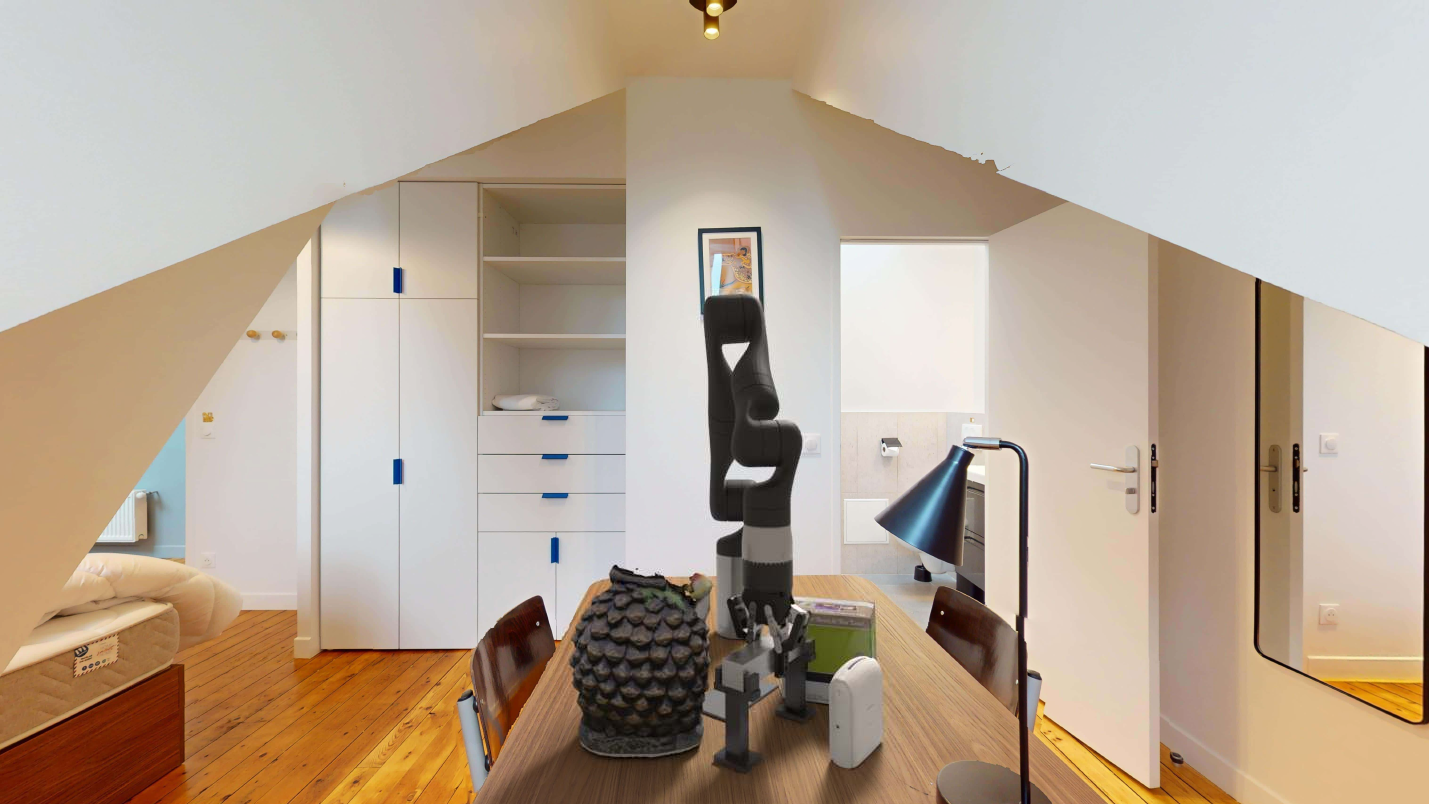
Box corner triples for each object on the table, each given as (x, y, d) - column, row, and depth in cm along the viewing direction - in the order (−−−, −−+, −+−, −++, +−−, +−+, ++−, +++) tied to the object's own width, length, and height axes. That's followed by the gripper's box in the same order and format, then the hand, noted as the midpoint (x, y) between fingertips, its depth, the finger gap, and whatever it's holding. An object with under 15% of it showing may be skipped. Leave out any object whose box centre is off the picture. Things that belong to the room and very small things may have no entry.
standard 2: (784, 703, 96) (783, 628, 96) (820, 714, 92) (819, 637, 92) (771, 712, 92) (771, 635, 93) (807, 725, 88) (807, 644, 89)
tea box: (877, 686, 102) (876, 600, 102) (873, 713, 92) (872, 618, 93) (792, 674, 107) (791, 592, 107) (780, 699, 97) (779, 608, 98)
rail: (788, 644, 94) (788, 622, 94) (808, 649, 92) (807, 627, 92) (722, 684, 80) (722, 658, 80) (743, 691, 78) (743, 665, 78)
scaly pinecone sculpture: (712, 712, 92) (712, 553, 93) (714, 768, 77) (714, 578, 78) (580, 714, 92) (581, 554, 93) (556, 771, 77) (557, 579, 78)
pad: (740, 674, 106) (740, 672, 106) (778, 686, 101) (778, 684, 101) (687, 706, 94) (687, 704, 94) (727, 722, 89) (727, 719, 89)
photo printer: (854, 774, 76) (853, 677, 77) (825, 761, 79) (824, 668, 79) (887, 741, 84) (886, 653, 85) (859, 731, 87) (858, 646, 87)
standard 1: (726, 746, 83) (726, 660, 83) (765, 762, 79) (764, 671, 79) (709, 759, 80) (709, 669, 80) (748, 776, 76) (748, 682, 76)
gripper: (822, 556, 85) (823, 676, 85) (742, 544, 94) (742, 653, 93) (796, 566, 79) (797, 696, 79) (713, 553, 88) (714, 669, 87)
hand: (768, 672), depth 86 cm, fingers closed on rail, 3 cm apart
